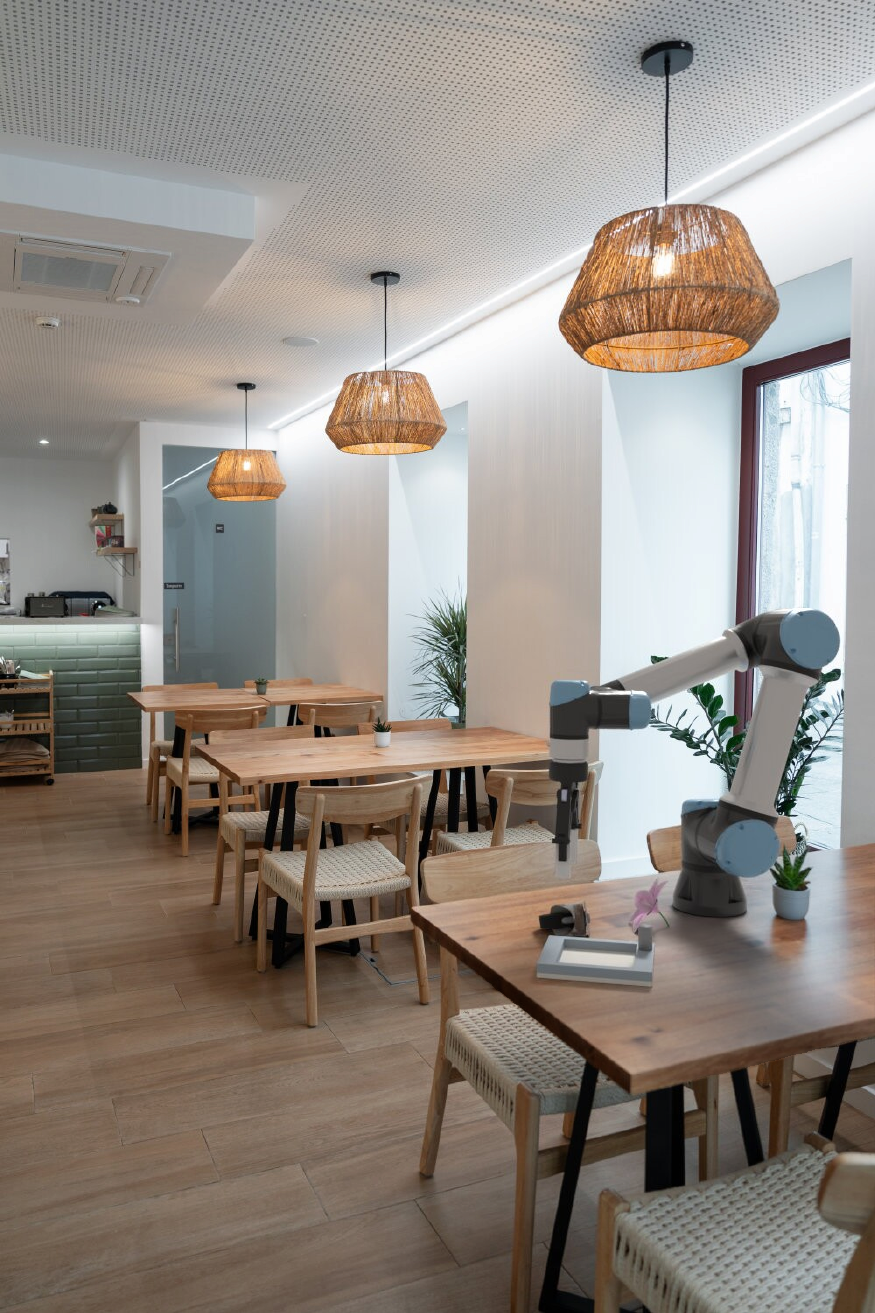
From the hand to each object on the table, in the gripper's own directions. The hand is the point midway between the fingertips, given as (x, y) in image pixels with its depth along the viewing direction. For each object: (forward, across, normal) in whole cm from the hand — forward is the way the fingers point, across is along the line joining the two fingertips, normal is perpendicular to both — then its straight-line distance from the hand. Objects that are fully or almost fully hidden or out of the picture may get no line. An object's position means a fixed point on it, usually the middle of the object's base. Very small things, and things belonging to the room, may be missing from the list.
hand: (566, 870), depth 191 cm
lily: (+12, -8, +15) cm, 21 cm away
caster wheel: (+13, 0, 0) cm, 13 cm away
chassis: (+12, +18, +8) cm, 23 cm away
